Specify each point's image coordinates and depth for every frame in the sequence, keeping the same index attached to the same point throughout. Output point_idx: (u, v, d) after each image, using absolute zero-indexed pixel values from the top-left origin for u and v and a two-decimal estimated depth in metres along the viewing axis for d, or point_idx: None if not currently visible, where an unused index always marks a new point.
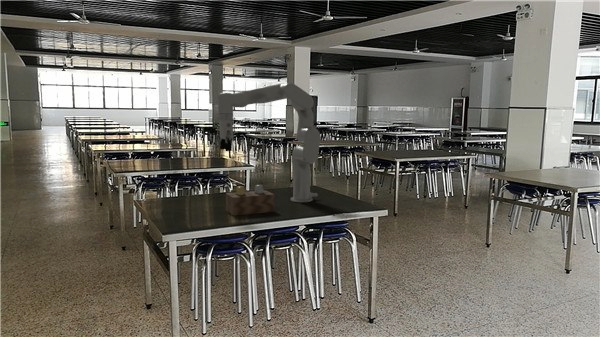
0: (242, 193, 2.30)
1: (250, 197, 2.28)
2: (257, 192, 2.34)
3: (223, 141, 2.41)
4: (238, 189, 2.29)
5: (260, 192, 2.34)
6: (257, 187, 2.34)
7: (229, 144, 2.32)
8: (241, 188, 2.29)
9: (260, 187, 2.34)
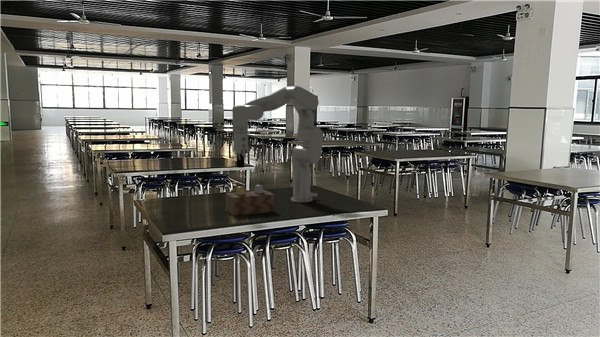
0: (242, 193, 2.30)
1: (250, 197, 2.28)
2: (257, 192, 2.34)
3: None
4: (238, 189, 2.29)
5: (260, 192, 2.34)
6: (257, 187, 2.34)
7: (242, 160, 2.27)
8: (241, 188, 2.29)
9: (260, 187, 2.34)
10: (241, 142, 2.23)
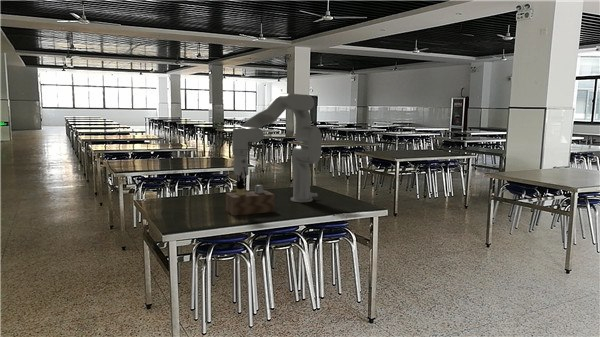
0: None
1: (250, 197, 2.28)
2: (257, 192, 2.34)
3: None
4: (238, 191, 2.29)
5: (260, 192, 2.34)
6: (257, 187, 2.34)
7: (241, 182, 2.29)
8: (241, 190, 2.29)
9: (260, 187, 2.34)
10: (241, 164, 2.24)
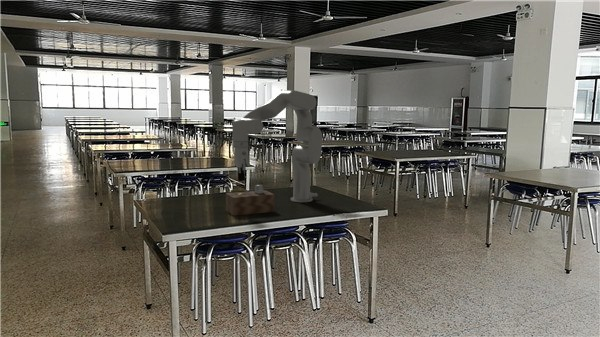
0: None
1: (250, 197, 2.28)
2: (257, 192, 2.34)
3: None
4: None
5: (260, 192, 2.34)
6: (257, 187, 2.34)
7: (242, 174, 2.29)
8: None
9: (260, 187, 2.34)
10: (242, 156, 2.24)
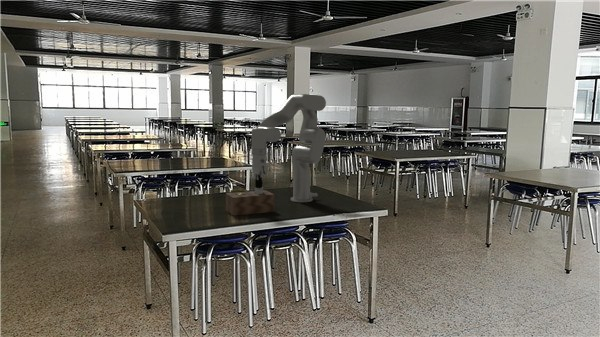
0: None
1: (250, 197, 2.28)
2: None
3: None
4: None
5: None
6: (257, 189, 2.34)
7: (260, 181, 2.34)
8: None
9: (260, 189, 2.34)
10: (260, 164, 2.29)
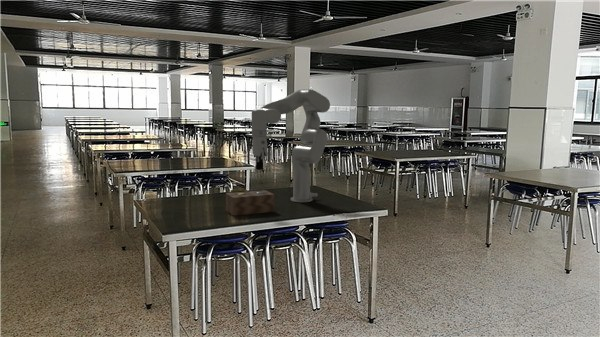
0: None
1: (250, 197, 2.28)
2: None
3: None
4: None
5: None
6: None
7: (260, 163, 2.33)
8: None
9: None
10: (260, 145, 2.28)
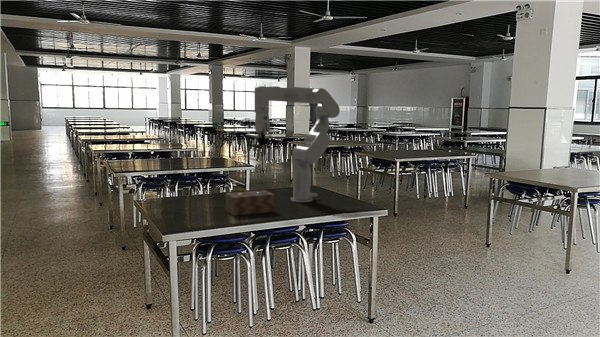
0: None
1: (250, 197, 2.28)
2: None
3: None
4: None
5: None
6: None
7: (263, 138, 2.41)
8: None
9: None
10: (263, 121, 2.36)
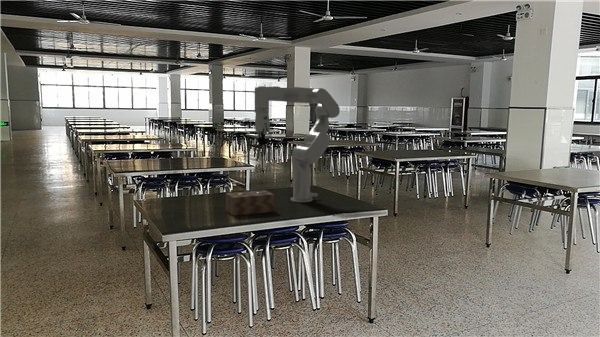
0: None
1: (250, 197, 2.28)
2: None
3: None
4: None
5: None
6: None
7: (263, 138, 2.41)
8: None
9: None
10: (263, 121, 2.36)
